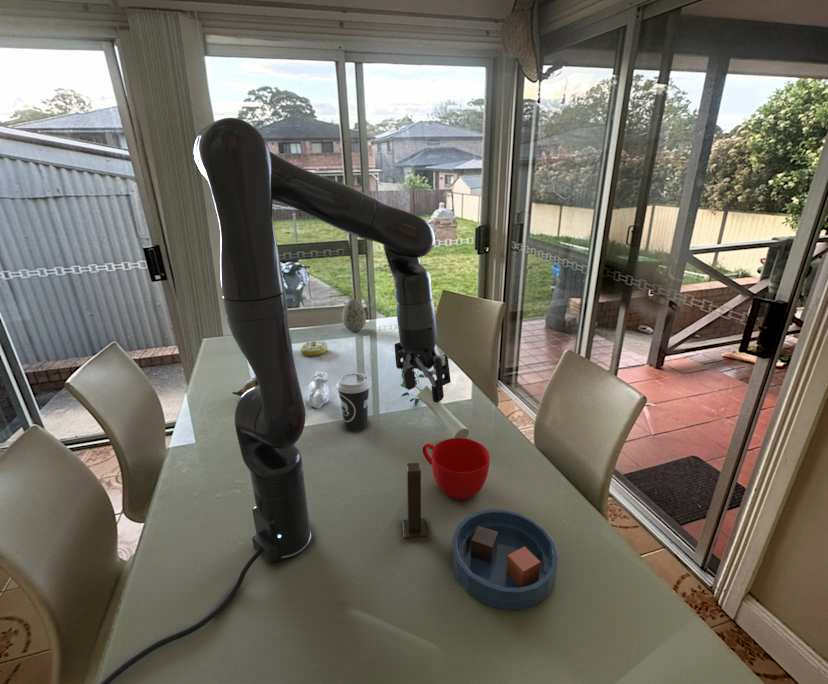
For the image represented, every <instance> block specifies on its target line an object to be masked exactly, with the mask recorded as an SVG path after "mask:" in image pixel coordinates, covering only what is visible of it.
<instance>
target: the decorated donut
mask: <svg viewBox="0 0 828 684" xmlns="http://www.w3.org/2000/svg"><path fill="white" fill-rule="evenodd" d="M299 349H300V353H301V354H302V355H303V356H307V357H308V356H309V357H312V356H313V357H315V356H322V355H324V354H325V353H326V352H327V350H328V343H327V342H326V341H324V340H309V341H305V342H304V343H302V344H301V345H300V346H299Z"/></svg>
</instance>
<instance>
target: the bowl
mask: <svg viewBox="0 0 828 684" xmlns="http://www.w3.org/2000/svg"><path fill="white" fill-rule="evenodd" d="M478 526H481V527H484V528H487V529H490V530H493V531H496V532H498V541H497V549H496V552H495V555H494V558H493V560H492V563H488V562H485V561H483V560H480V559H477V558H474V557H471V542H472V538H473V536H474V534H475V531H476V529H477V527H478ZM524 546H525V547H526V548H527V549H528V550H529V551H530V552H531V553H532V554H533V555H534V556H535V557H536V558H537V559H538V560H539V561H540V570H539V578H538V579H537V580H535V581H534V582H532V583H530V584H528V585H527V586H525V587H520V586H519V585H518V584H517V583H516V582H515V581H514V580H513V578H512V577H511V576H510V575H509V574H508V573H507V572H506V571H507V560H508V555H509V554H511V553H513V552H515V551H517V550H519V549H521V548H522V547H524ZM451 547H452V549H451V567H452V570H453V572H454V575H455V578H456V581H457V582H458V583H459V584H460V585H461V587H462V588H463V589H464V590H465V592H466V593H467V594H468V595H470V597H471V596H472V597H473V598H474V599H475V600H477V601H479V602H480V603H481V604H482V605H483V604H484V605H487V606H489V607H492V608H495V609H498V610H502V611H503V610H505V611H521V610H526V609H530V608H533V607H536V606H537V605H538V604H540V603H541V602H543V601H545V600H546V599H547V598H548V597H549V595H550V593H551V592H552V590H553V588H554V587H555V581H556V575H557V568H558V562H559V561H558V560H559V554H558V551H557V550H558V549H557V546H556V544H555V541H554V540H553V538H552V537H551V536H550V534H549V533H548V531H547V530H546V529H545V528H543V527H542V526H541V525H540V524H539V523H538V522H537V521H535V520H533V519H532V518H529V517H528V516H526V515H524V514H522V513H520V512H515V511H512V510H508V509H495V508H494V509H493V508H491V509H483V510H480V511H477V512H474V513H472V514H470V515H467V516H466V517H465V518H464V519H463V520H462V521H461V522H460V523H459V524H458V525H457V526H456V528H455V531H454V533H453V535H452V545H451Z"/></svg>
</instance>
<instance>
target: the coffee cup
mask: <svg viewBox="0 0 828 684" xmlns="http://www.w3.org/2000/svg"><path fill="white" fill-rule="evenodd" d="M370 387H371V381H370V379H369V378H368V376H367V374H364V373H361V372H348V373H345V374H342V375H341V376H339V378H338V380H337V382H336V385H335V389H336V391H338V397H339V402H340V406H341V413H342V417H343V418H342V420H343V425H344V428H345V430H346V431H349V432H360V431H363V430H365V429H366V428H367V427H368V415H369V392H370Z"/></svg>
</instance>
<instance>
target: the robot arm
mask: <svg viewBox="0 0 828 684" xmlns="http://www.w3.org/2000/svg"><path fill="white" fill-rule="evenodd" d="M193 155H194V161H195V163H196V165H197V167H198V169H199V171H200V173H201V174H202V175H203V176H204V178H205V179H206V180H207V181H208V184H209V187H210V191H211V194H212V199H213V202H214V207H215V211H216V214H217V220H218V225H219V231H220V259H219V261H220V262H219V264H220V267H219V268H220V285H221V286H220V287H221V296H222V301H223V306H224V311H225V317H226V322H227V325H228V327H229V331H230V333H231V335H232V337H233V339H234V341H235V343H236V345H237V346H238V347H239V349H240V351H241V353H242V354H243V356H244V357H245V359H246V360H247V363H248V365H249V366H250V368H251V370H252V371H253V373H254V376H256V378H257V381H258V385H259V387H254V388H251V389H249V390H248V391H247V392H245V393H244V394H243V395H242V396H240V398H239V399H238V401H237V404H236V407H235V410H234V427H235V433H236V437H237V442H238V446H239V450H240V454H241V458H242V460H243V463H244V465H245V467H247V469H248V471H249V474H250V477H251V478H250V479H251V480H250V481H251V485H252V490H253V495H254V496H253V498H254V501H255V502H254V503H255V506H254V507H253V508H252V509H251V511H252V517H253V522H254V529H255V534H254V535H252V536H251V539H252V545H253V549H255V550H256V551H255V553H254V554H252V556H251V557H250V559H248V560H247V563H245V565H244V566H243V568H242V570H241V572H240V574H239V576H238V579H237V581H236V583H235V585H234V586H233V587H232V589H231V590H230V592H229V593H228V594H227V596H226V597H225V598H224V599H223V600H222V602H221V603H220V604H219V605H218V606H217V607H216V608H215V609H214V610H213V611H211V612H210V613H209V614H207V615H206V616H205V617H204V618H202V619H201V620H200V621H198V622H197V623H195V624H193V625H191V626H190V627H187V628H185V629H183V630H180V631H178V632H174V633H173V634H171V635H168V636H166V637H164V638H161V639H159V640H157V641H156V642H154V643H152V644H150V645H149V646H148V647H146V648H144V649H143V650H141V651H139V652H138V653H137V654H135V655H134V656H133V657H131V658H129V659H128V660H127V661H125V662H124V663H123V664H121V665H120V666H119V667H118V668H116V669H115V670H114V671H113V672H111V673H110V674H109V675H108V676H107V677H106V678H105V679H104V680H102V682H100V684H112V682H113V681H114V680H115V679H116V678H118V677H119V676H120V675H121V674H122V673H124V672H125V671H126V670H127V669H128V668H130V667H131V666H132V665H134V664H135V663H137V662H138V661H140V660H141V659H143V658H144V657H146V656H147V655H149V654H150V653H152V652H154V651H155V650H157V649H159V648H160V647H162V646H164V645H166V644H169V643H172V642H173V641H176V640H178V639H181V638H183V637H185V636H188V635H189V634H192V633H193V632H195V631H197V630H199V629H200V628H202V627H203V626H205V625H206V624H207V623H209V622H210V621H211V620H213V619H214V618H215V617H216V616H217V615H218V614H219V613H221V611H222V610H224V608H225V607H226V606H227V605H228V604H229V603H230V601H231V600H232V599H233V597H234V596H235V595H236V593H237V592H238V591H239V589H240V587H241V586H242V584H243V582H244V579H245V577H246V574H247V572H248V571H249V569H250V568H251V566H252V565H253V564H254V563H255V561H256V560H257V559H258V558H259V556H260V555H261V557H263V558H264V559H265V560H266V561H267V562H269V563H273V562H274V563H275V564H277V563H279V562H280V561H281V560H287V559H291V558H294V557H297V556H299V555H300V554H301V553H303V552H304V551H305V550H306V549H307V548H308V547H309V545H310V543H311V541H312V531H311V524H310V517H309V509H308V500H307V492H306V484H305V475H304V469H303V467H304V466H303V459H302V454H301V451H300V450H299V448H298V447H297V446H296V445H295V444H296V443H297V442H298V441H299V440H300V438H301V437H302V434H303V432H304V429H305V425H306V407H305V401H304V397H303V394H302V393H303V392H302V389H301V386H300V381H299V377H298V373H297V368H296V364H295V358H294V357H295V356H294V352H293V351H294V350H293V345H292V337H291V332H290V324H289V311H288V304H287V296H286V290H285V289H286V288H285V282H284V277H283V270H282V262H281V257H280V252H279V247H278V242H277V239H276V238H277V237H276V233H275V225H274V216H273V215H274V213H273V201H276V202H278V203H281V204H283V205H286V206H288V207H291V208H294V209H296V210H298V211H300V212H302V213H304V214H307V215H309V216H311V217H313V218H315V219H317V220H319V221H321V222H323V223H325V224H327V225H329V226H332V227H334V228H336V229H338V230H341V231H343V232H345V233H347V234H350V235H352V236H355V237H356V238H358V239H359V238H360V239H363V240H365V241H371V242H375V243H378V244H382V245H383V250H384V254H385V257H386V261H387V264H388V268H389V270H390V272H391V275H392V278H393V281H394V292H395V299H396V301H395V302H396V321H397V328H398V337H399V341H398V342H396V343H394V345H393V346H394V353H395V354H394V357H395V366H396V368H397V370H401V374H402V373H403V374H404V378H405V384H406V388H405V389H406V390H410V391H411V390H413V389H414V388H416V387H415V386H417V385H416V382H415V380H416V379H415V377H416V374H415V373H416V372H415V370H419V371H420V372H422V373H423V374H422V375H424V376H425V378H427V379H428V381H429V382H430V384H431V387H430V388H431V389H432V397H433V402H436V403H437V402H439V401H440V402H442V400H443V399H444V395H445V394H444V386H445V385H448V384H450V383H451V373H450V363H449V357H448V355H447V354H446V353H445V354H442V355H440V354H437V352H436V345H437V343H438V329H437V318H436V308H435V305H434V304H435V303H434V297H433V288H432V278H431V273H430V272H429V270H428V269H427V268H425V267H424V266H423V265H422V264H421V261H420V258H422V257H424V256H426V255H428V254H429V253H430V252H431V251H432V250H433V248H434V246H435V242H436V235H435V232H434V230H433V227H432V225H431V224H430V223H429V222H428V221H427V220H426V219H424V218H422V217H420V216H418V215H416V214H414V213H411V212H409V211H405V210H403V209H400V208H397V207H394V206H390V205H388V204H386V203H383V202H382V201H380V200H379V199H377V198H375V197H373V196H371V195H369V194H367V193H364V192H362V191H361V190H358V189H356V188H354V187H352V186H350V185H347V184H345V183H342V182H340V181H337V180H335V179H331V178H329V177H326V176H323V175H320V174H318V173H315V172H312V171H310V170H307V169H305V168H303V167H300V166H297V165H296V164H293V163H292V162H289V161H287V160H286V159H284V158H282V157H280V156H278V155H277V154H275V153H274V152H272V151H271V150H270V148H269V144H268V143H267V141H266V139H265V138H264V136H263V135H262V133H261V132H260V131H259V130H258V129H257V128H256V127H255V126H254V125H252V124H251V123H249V122H247V121H246V120H244V119H241V118H237V117H224V118H220V119H217V120H215V121H214V122H211V123H210V124H208V125H207V126H205V127H204V128H202V130H201V131H200V132H199V134H198V135H197V137H196V139H195V141H194V145H193ZM432 368H433V369H432ZM431 369H432V370H431ZM413 370H414V371H413ZM414 372H415V373H414ZM434 376H435V377H436V378H435V377H434ZM443 376H444V377H443Z"/></svg>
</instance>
